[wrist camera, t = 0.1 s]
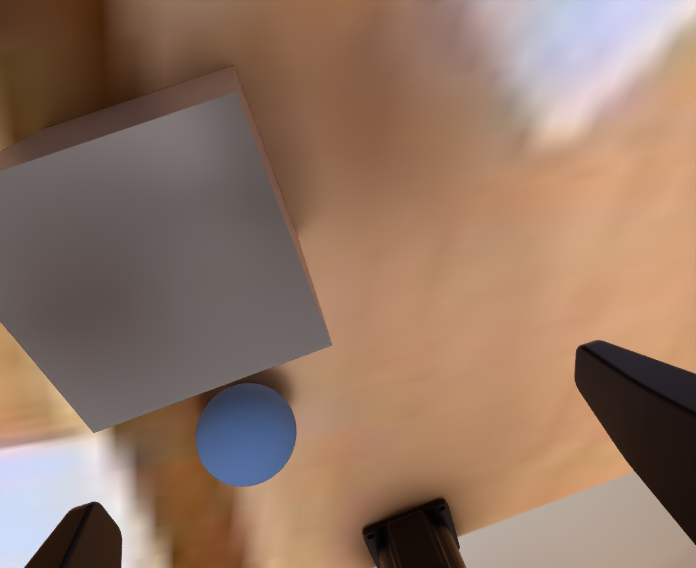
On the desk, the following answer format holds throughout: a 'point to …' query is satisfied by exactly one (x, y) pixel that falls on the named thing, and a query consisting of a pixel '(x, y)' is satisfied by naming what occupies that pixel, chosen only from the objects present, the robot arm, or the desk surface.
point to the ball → (245, 434)
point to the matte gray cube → (152, 252)
